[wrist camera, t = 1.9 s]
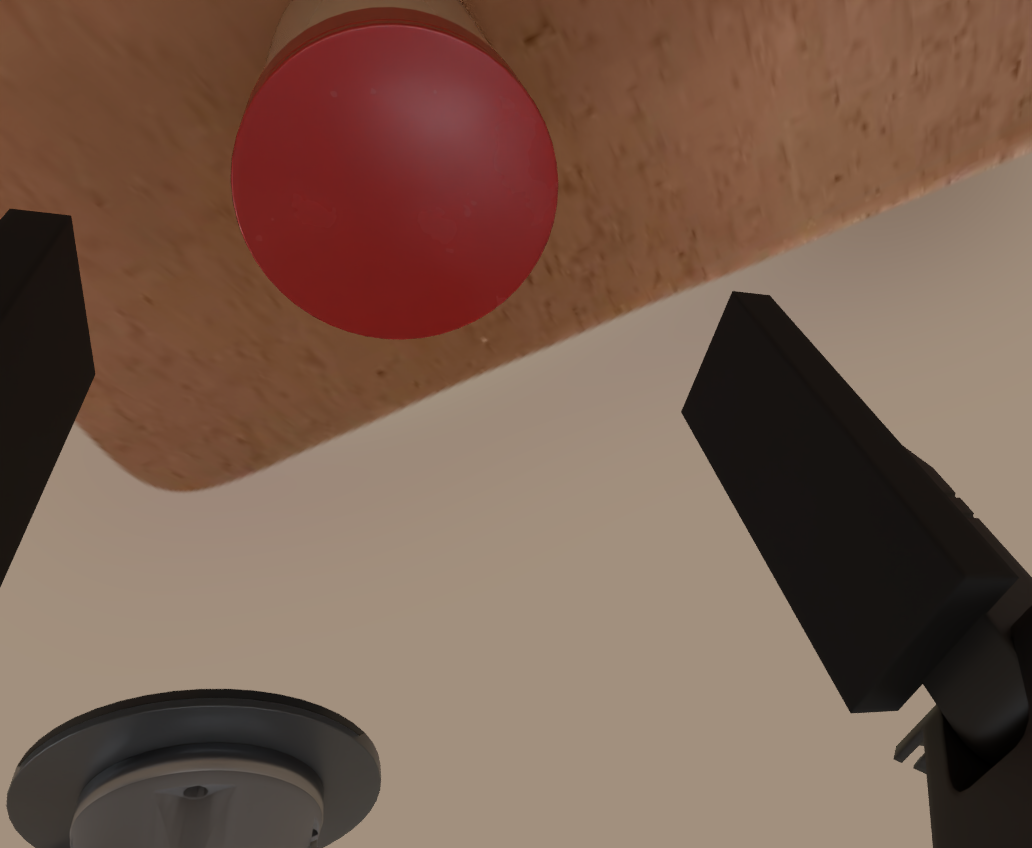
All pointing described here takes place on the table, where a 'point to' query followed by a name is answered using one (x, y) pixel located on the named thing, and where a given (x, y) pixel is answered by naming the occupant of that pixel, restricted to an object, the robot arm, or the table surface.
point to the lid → (393, 174)
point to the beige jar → (320, 3)
